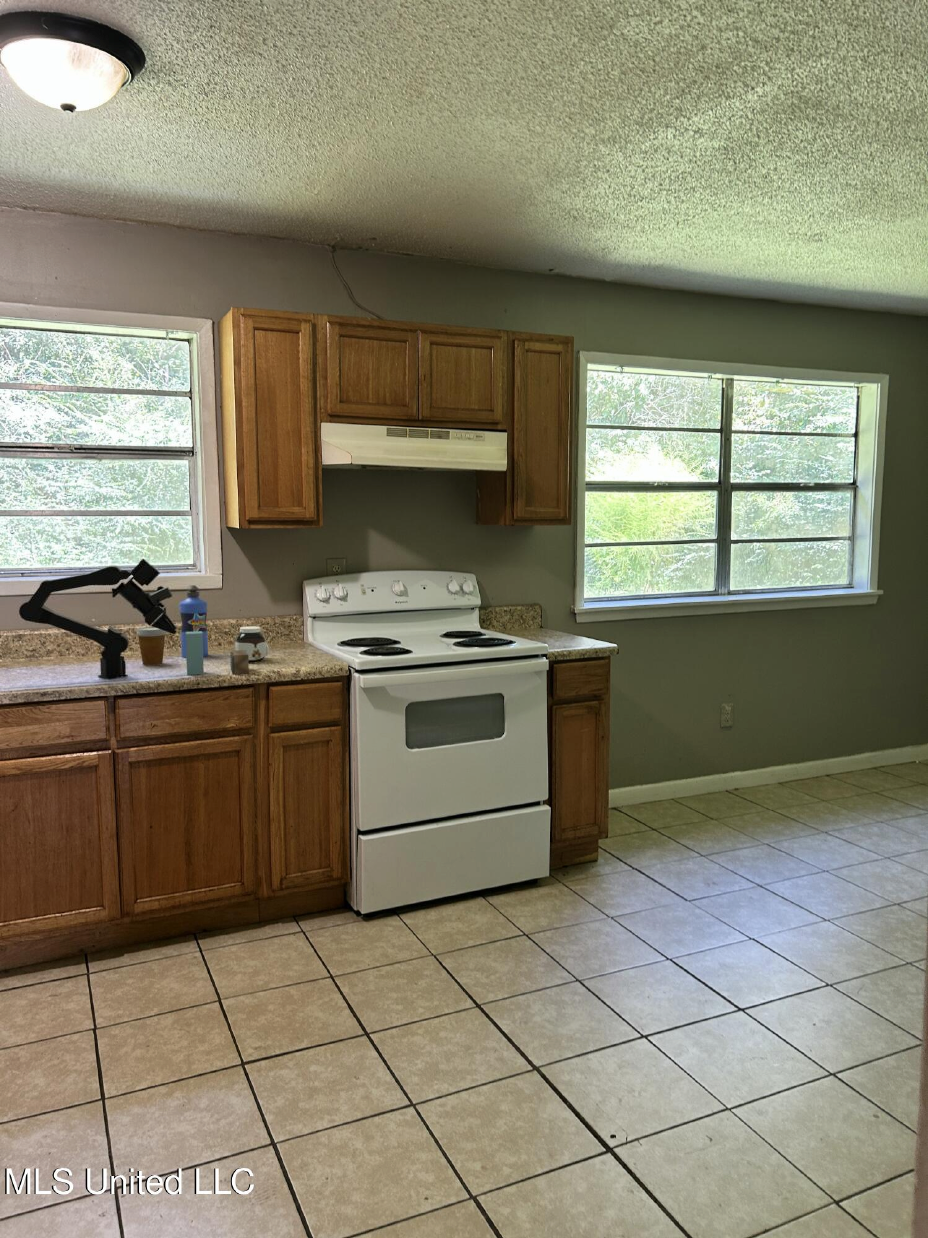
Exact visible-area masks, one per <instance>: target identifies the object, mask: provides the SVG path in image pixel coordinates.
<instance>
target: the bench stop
mask: <svg viewBox="0 0 928 1238" xmlns="http://www.w3.org/2000/svg"><path fill="white" fill-rule="evenodd" d="M249 664H250V663H249V659H248V653H247V651H246V650H237V651H236V650H232V651H230V670H231V675H245V674H246V675H247V674H250V673H249V672H250V668H249V667H250V665H249Z"/></svg>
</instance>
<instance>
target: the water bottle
mask: <svg viewBox="0 0 928 1238" xmlns="http://www.w3.org/2000/svg"><path fill="white" fill-rule="evenodd" d="M198 590H199V587H198V586H196V585H189V586H188V587H187V591H186V599H184V600H183V601H180V602H179V613H180V619H181V628H180V629H181V630H180V645H181V646H180V647H181V648H180V649H181V651H180V652H181V658H184V659H187V658H186V632H197V631H202V633H203V658H207V657H209V643H208V642H209V637H208V636H209V635H208V628H207V614H208V602H207V601H205V600H203V599H201V597H200V591H198Z"/></svg>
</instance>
